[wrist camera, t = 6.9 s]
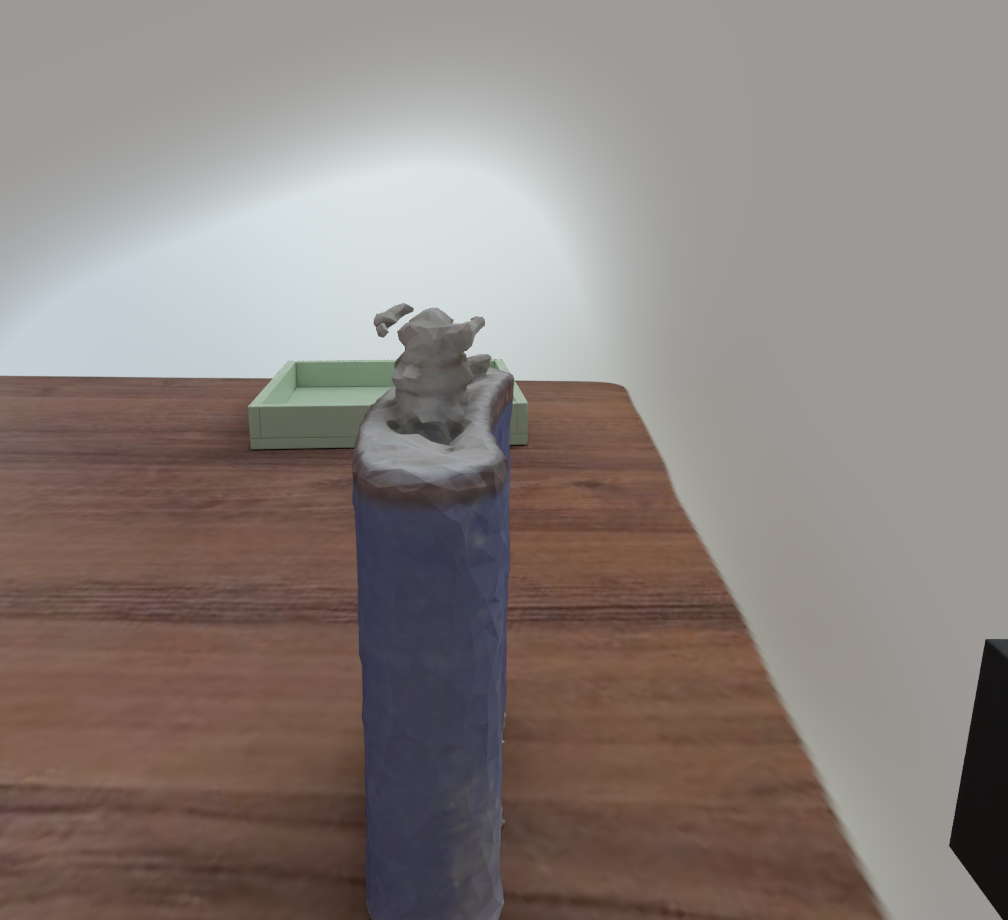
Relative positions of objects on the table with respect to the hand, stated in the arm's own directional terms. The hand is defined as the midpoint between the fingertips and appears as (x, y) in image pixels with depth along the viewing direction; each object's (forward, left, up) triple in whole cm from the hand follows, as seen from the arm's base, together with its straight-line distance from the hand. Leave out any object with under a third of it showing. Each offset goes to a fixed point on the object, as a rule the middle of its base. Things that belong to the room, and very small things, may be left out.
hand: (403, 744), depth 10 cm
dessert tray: (+1, -46, -7) cm, 46 cm away
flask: (-1, -8, -7) cm, 10 cm away
